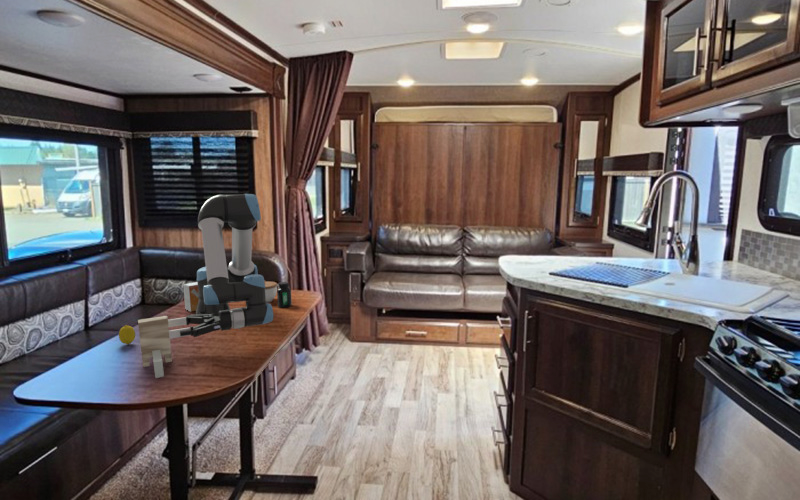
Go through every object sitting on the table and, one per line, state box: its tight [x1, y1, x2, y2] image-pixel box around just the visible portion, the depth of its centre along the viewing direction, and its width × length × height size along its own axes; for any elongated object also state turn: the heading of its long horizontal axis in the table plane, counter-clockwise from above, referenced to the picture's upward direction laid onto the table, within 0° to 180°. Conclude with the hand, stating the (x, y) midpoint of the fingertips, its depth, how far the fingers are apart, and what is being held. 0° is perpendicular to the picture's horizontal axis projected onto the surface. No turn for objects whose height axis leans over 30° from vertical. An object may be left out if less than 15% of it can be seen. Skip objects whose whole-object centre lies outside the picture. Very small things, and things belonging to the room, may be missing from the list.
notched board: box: [152, 350, 165, 379], centre depth 161 cm, size 28×2×6 cm, turn 30°
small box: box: [182, 281, 199, 313], centre depth 225 cm, size 8×6×13 cm
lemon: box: [118, 324, 136, 346], centre depth 178 cm, size 6×6×8 cm
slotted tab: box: [137, 315, 173, 368], centre depth 160 cm, size 4×9×16 cm, turn 121°
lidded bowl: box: [264, 279, 278, 304], centre depth 238 cm, size 13×13×11 cm
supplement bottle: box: [276, 281, 293, 309], centre depth 228 cm, size 7×7×12 cm
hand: (167, 329), depth 161 cm, fingers open, 13 cm apart
